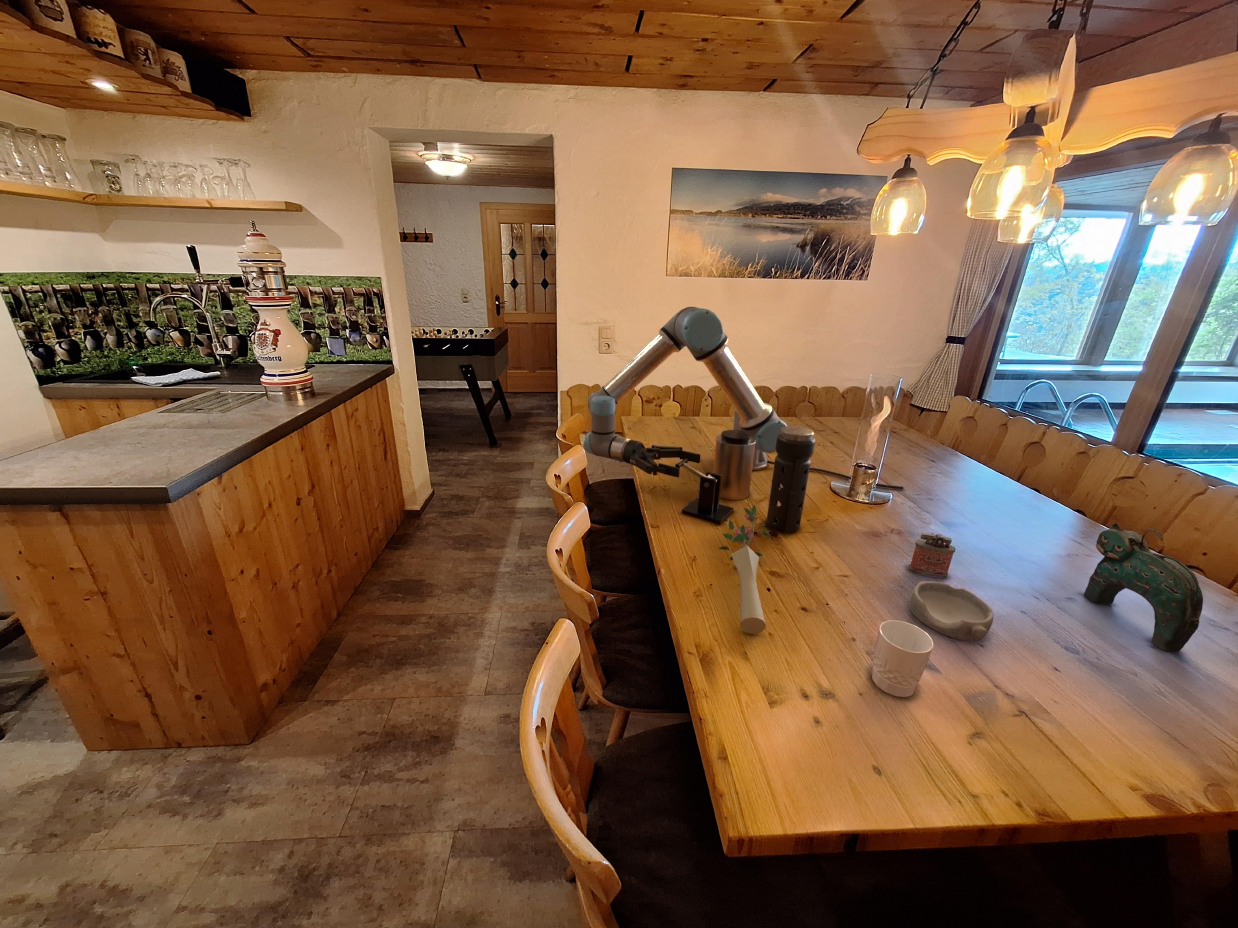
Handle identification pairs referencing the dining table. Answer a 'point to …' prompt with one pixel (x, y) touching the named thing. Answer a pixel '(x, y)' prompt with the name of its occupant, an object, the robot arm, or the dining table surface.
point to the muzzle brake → (790, 478)
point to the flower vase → (747, 575)
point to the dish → (951, 610)
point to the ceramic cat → (1148, 584)
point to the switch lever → (691, 468)
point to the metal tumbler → (734, 463)
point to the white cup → (900, 657)
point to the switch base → (709, 501)
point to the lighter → (932, 556)
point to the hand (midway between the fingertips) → (689, 465)
